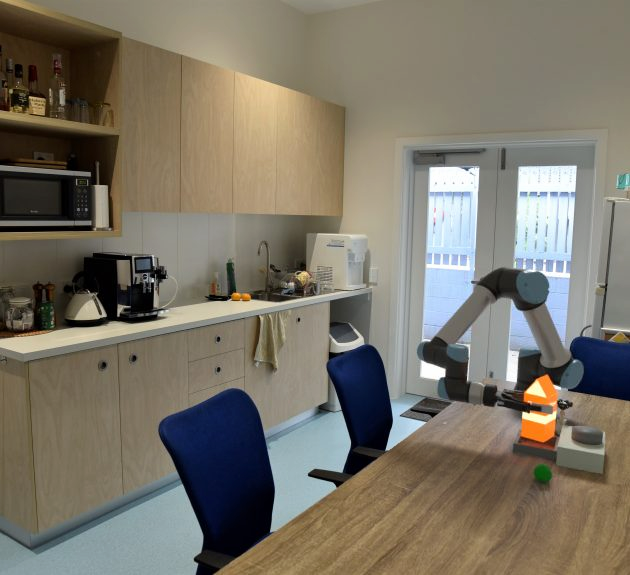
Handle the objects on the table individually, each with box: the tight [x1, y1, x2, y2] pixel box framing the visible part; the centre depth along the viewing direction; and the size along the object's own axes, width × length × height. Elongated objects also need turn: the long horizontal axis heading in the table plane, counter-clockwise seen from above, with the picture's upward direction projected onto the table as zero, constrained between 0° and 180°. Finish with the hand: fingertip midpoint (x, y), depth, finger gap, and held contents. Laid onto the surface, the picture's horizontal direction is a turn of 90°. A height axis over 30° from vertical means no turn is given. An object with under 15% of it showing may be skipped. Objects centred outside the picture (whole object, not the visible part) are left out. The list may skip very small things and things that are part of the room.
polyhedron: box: [532, 463, 553, 483], centre depth 173 cm, size 5×5×5 cm
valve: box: [554, 398, 574, 436], centre depth 210 cm, size 7×7×12 cm
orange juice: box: [520, 374, 559, 442], centre depth 195 cm, size 8×9×20 cm
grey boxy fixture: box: [512, 424, 606, 475], centre depth 194 cm, size 22×26×9 cm
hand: (554, 405), depth 193 cm, fingers closed on orange juice, 10 cm apart
